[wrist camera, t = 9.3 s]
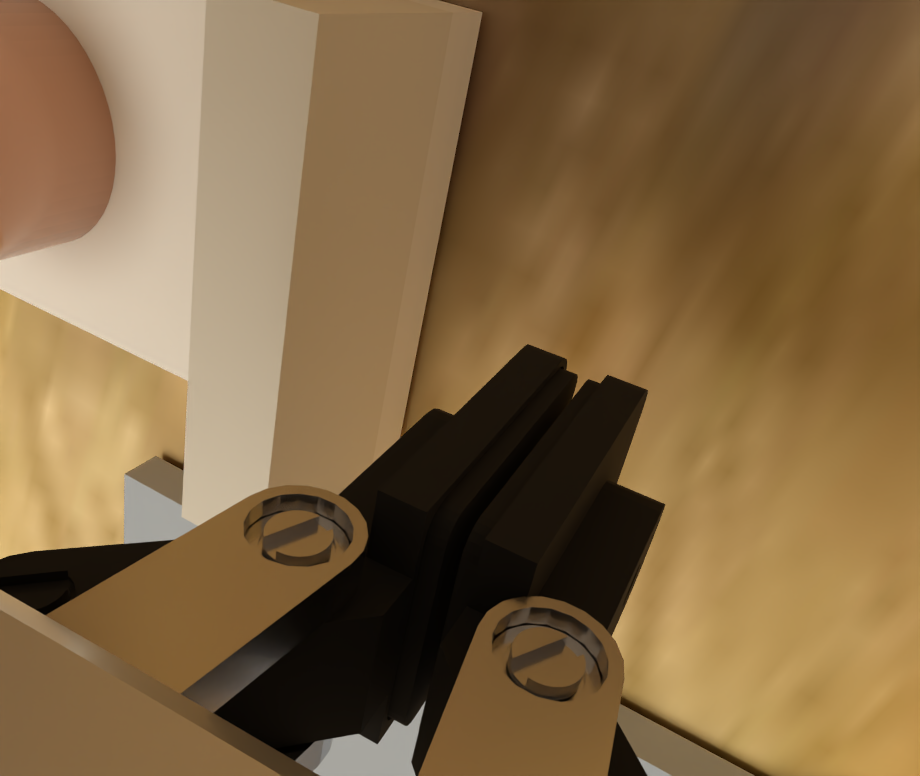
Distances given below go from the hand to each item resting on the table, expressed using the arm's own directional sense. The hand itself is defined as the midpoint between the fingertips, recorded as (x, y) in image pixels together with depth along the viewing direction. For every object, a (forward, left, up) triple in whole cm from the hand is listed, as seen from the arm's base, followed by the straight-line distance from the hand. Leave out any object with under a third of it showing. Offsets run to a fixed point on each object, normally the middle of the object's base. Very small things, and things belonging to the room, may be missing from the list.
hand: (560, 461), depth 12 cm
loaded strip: (+1, -15, -7) cm, 17 cm away
